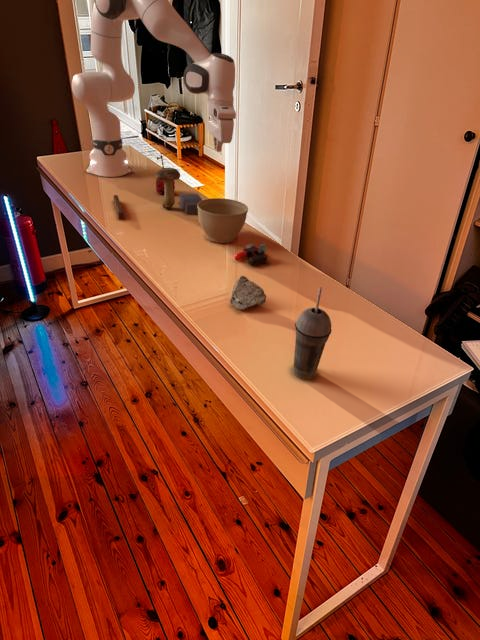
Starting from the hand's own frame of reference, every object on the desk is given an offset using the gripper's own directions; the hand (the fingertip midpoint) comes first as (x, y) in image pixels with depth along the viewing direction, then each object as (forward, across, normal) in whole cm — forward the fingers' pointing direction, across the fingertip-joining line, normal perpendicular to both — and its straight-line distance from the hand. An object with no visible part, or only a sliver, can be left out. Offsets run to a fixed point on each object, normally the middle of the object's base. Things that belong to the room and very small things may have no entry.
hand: (217, 150), depth 169 cm
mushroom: (+21, 0, -18) cm, 28 cm away
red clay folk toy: (+21, -18, -16) cm, 32 cm away
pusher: (+21, 0, -8) cm, 23 cm away
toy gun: (+21, +44, -2) cm, 49 cm away
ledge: (+21, 0, -36) cm, 41 cm away
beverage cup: (+21, +99, -8) cm, 102 cm away
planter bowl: (+21, +28, -6) cm, 36 cm away
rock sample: (+21, +70, -10) cm, 74 cm away
